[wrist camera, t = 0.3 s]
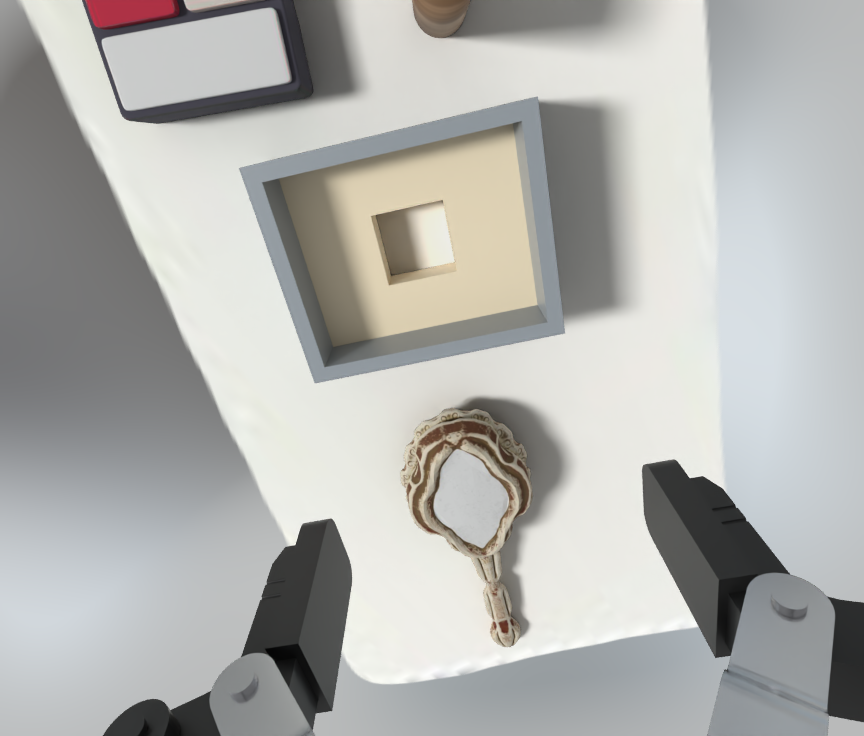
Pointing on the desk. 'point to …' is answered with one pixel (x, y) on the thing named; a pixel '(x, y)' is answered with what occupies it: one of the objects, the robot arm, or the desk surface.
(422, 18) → the peg
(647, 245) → the desk surface
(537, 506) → the desk surface
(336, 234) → the grey open box
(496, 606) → the hand mirror
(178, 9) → the calculator
